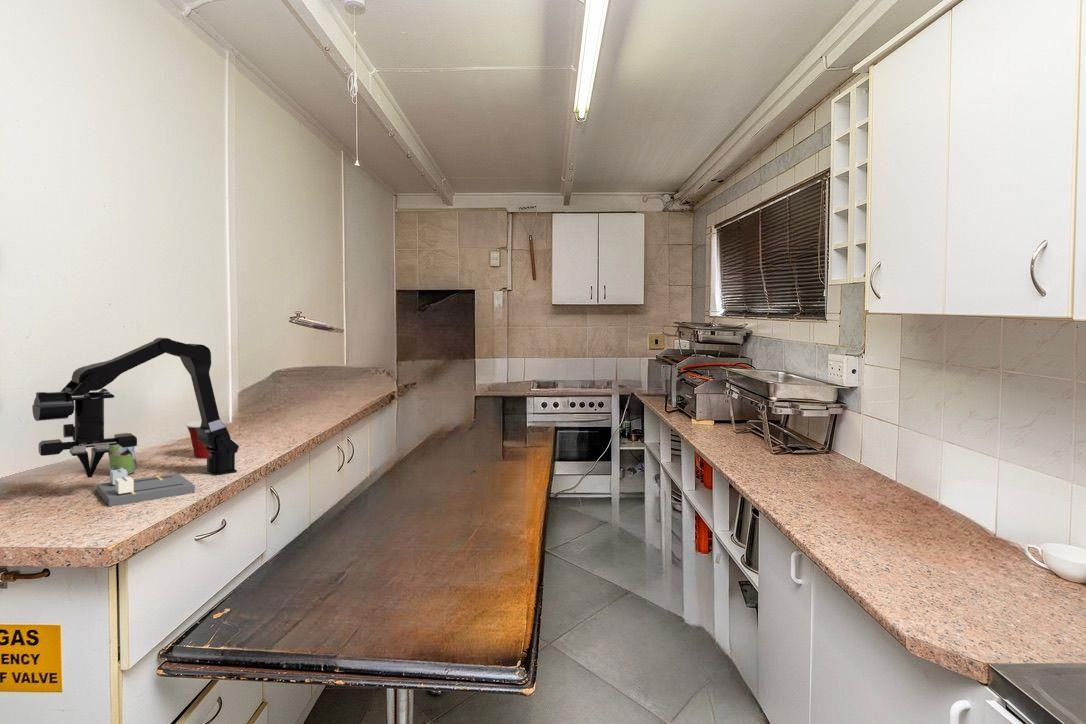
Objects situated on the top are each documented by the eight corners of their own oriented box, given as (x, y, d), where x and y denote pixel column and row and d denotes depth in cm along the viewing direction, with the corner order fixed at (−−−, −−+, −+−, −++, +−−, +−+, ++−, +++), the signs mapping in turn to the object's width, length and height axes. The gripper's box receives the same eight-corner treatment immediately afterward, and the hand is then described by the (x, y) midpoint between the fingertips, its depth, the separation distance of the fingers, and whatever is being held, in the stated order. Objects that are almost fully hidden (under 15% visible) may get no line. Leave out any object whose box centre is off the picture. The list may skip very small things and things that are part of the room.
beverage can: (142, 471, 161) (142, 432, 160) (120, 478, 154) (121, 436, 153) (123, 470, 162) (123, 430, 161) (100, 476, 154) (100, 435, 154)
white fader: (124, 479, 144) (124, 468, 144) (127, 482, 142) (127, 471, 141) (109, 481, 142) (109, 469, 142) (113, 484, 139) (113, 472, 139)
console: (177, 479, 154) (177, 472, 154) (194, 492, 144) (194, 484, 144) (97, 491, 141) (97, 483, 141) (109, 506, 130) (109, 498, 130)
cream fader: (129, 488, 137) (130, 476, 137) (133, 491, 134) (133, 479, 134) (115, 490, 135) (115, 478, 135) (118, 493, 132) (118, 481, 132)
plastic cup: (177, 457, 179) (177, 422, 179) (208, 451, 189) (208, 418, 189) (199, 462, 175) (200, 425, 174) (230, 455, 185) (230, 421, 185)
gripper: (128, 409, 149) (128, 465, 150) (35, 415, 135) (36, 476, 136) (137, 415, 141) (137, 473, 142) (40, 421, 128) (41, 486, 128)
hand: (89, 477), depth 137 cm, fingers closed
